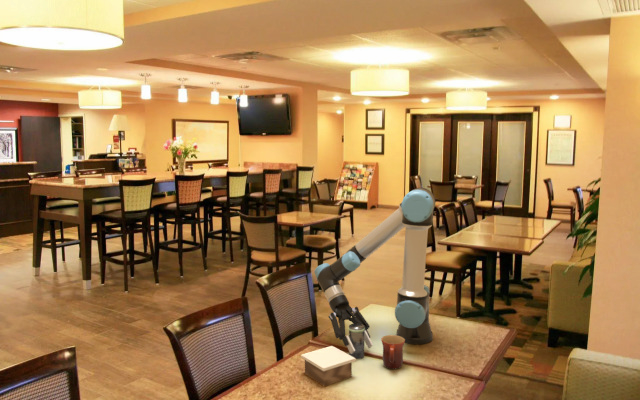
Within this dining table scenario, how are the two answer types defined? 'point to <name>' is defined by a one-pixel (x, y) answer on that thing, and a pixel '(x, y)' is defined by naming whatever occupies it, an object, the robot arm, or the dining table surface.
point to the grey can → (357, 340)
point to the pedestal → (328, 365)
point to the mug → (392, 351)
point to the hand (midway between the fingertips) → (362, 349)
